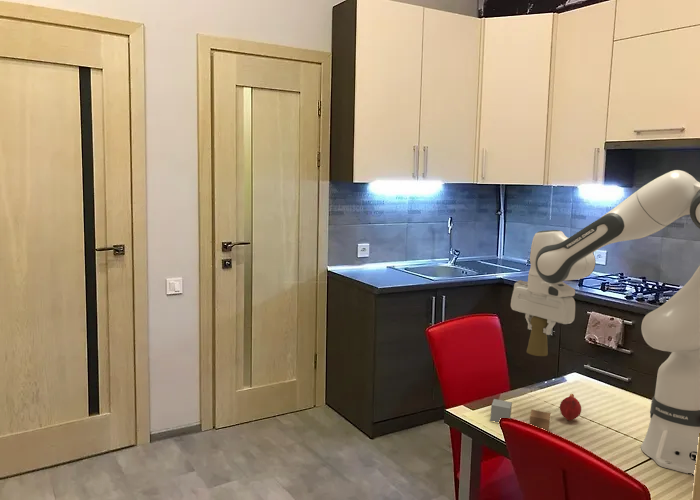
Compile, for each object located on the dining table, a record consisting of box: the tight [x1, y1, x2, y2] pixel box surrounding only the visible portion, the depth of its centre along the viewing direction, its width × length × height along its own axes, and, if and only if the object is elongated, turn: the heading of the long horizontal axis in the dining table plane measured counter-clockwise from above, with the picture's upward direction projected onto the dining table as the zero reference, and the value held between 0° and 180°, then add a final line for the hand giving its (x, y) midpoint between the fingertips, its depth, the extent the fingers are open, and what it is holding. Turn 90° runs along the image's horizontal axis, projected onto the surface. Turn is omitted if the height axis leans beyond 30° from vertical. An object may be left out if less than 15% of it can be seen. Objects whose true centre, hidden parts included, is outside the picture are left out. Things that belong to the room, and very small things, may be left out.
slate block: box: [489, 398, 513, 422], centre depth 169 cm, size 5×5×5 cm
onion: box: [559, 393, 582, 422], centre depth 171 cm, size 6×6×8 cm
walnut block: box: [529, 409, 551, 431], centre depth 162 cm, size 5×5×5 cm
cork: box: [525, 316, 549, 357], centre depth 174 cm, size 6×6×11 cm
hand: (539, 331), depth 174 cm, fingers closed on cork, 4 cm apart
